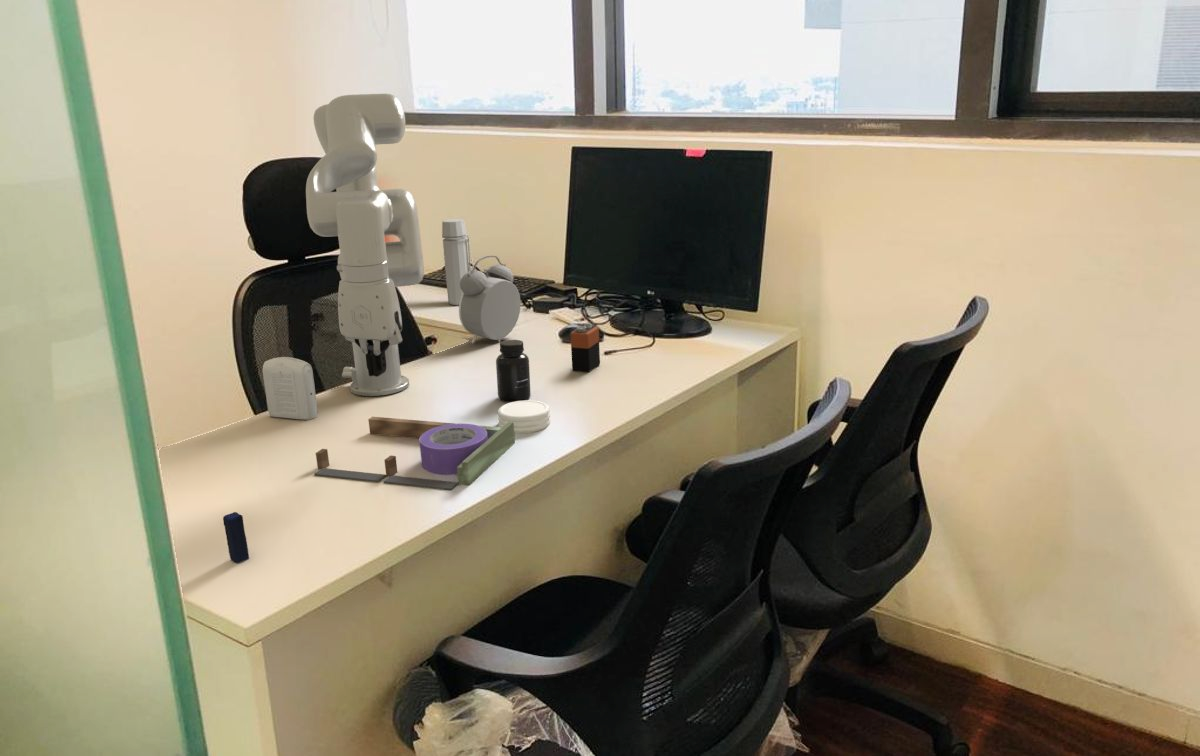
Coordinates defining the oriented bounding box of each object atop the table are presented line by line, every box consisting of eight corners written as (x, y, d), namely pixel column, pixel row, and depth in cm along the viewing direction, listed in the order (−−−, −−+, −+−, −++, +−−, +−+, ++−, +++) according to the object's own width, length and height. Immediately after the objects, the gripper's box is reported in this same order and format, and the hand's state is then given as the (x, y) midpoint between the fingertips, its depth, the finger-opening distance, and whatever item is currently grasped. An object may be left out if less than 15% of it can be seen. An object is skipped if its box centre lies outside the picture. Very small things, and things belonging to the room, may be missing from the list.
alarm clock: (501, 331, 245) (495, 249, 238) (526, 335, 240) (521, 251, 233) (458, 346, 232) (450, 260, 225) (483, 350, 227) (476, 262, 220)
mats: (314, 475, 157) (314, 473, 157) (322, 469, 159) (322, 467, 159) (451, 490, 149) (451, 488, 149) (458, 483, 151) (458, 482, 151)
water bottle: (444, 306, 275) (436, 222, 267) (452, 300, 282) (445, 218, 275) (474, 306, 273) (467, 222, 266) (481, 300, 281) (475, 218, 273)
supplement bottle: (526, 403, 188) (522, 347, 185) (494, 402, 190) (489, 346, 186) (534, 392, 195) (531, 338, 191) (503, 391, 196) (500, 337, 192)
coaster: (492, 421, 180) (490, 404, 179) (540, 413, 183) (539, 396, 182) (508, 438, 171) (506, 420, 170) (558, 428, 175) (557, 411, 174)
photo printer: (321, 414, 187) (313, 356, 183) (309, 421, 183) (301, 362, 179) (278, 410, 190) (270, 353, 186) (265, 418, 186) (256, 359, 182)
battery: (571, 371, 208) (569, 328, 205) (583, 362, 214) (581, 321, 211) (589, 373, 207) (587, 330, 204) (600, 364, 213) (599, 322, 210)
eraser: (236, 564, 128) (228, 520, 126) (228, 559, 130) (221, 515, 128) (250, 558, 130) (243, 514, 128) (243, 553, 131) (236, 510, 129)
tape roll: (455, 481, 153) (453, 453, 152) (407, 466, 160) (404, 439, 158) (503, 457, 162) (501, 430, 161) (455, 444, 169) (453, 419, 167)
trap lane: (317, 469, 160) (314, 447, 158) (375, 430, 177) (373, 410, 176) (469, 485, 151) (467, 462, 150) (514, 442, 168) (513, 422, 167)
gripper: (314, 275, 155) (328, 377, 161) (393, 280, 150) (404, 384, 157) (339, 264, 161) (352, 363, 168) (415, 269, 157) (425, 370, 163)
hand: (377, 373), depth 162 cm, fingers closed
